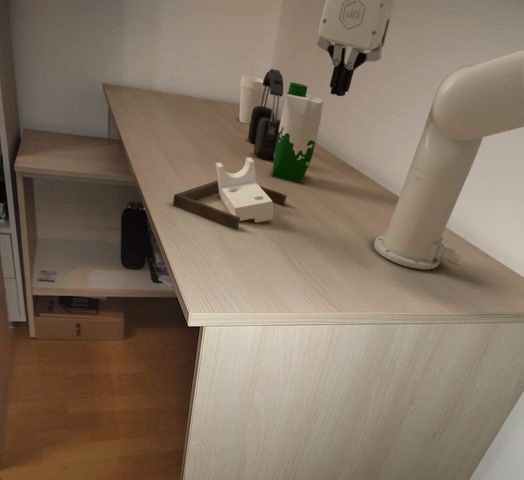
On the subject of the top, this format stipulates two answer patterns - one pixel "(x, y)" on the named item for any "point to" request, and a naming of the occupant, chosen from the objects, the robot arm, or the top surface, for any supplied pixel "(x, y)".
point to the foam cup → (250, 96)
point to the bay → (188, 203)
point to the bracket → (244, 193)
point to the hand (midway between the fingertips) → (337, 94)
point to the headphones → (266, 118)
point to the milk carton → (297, 133)
